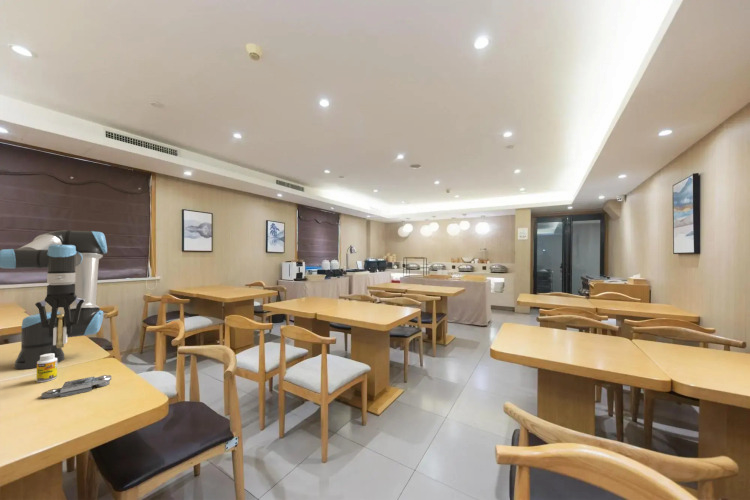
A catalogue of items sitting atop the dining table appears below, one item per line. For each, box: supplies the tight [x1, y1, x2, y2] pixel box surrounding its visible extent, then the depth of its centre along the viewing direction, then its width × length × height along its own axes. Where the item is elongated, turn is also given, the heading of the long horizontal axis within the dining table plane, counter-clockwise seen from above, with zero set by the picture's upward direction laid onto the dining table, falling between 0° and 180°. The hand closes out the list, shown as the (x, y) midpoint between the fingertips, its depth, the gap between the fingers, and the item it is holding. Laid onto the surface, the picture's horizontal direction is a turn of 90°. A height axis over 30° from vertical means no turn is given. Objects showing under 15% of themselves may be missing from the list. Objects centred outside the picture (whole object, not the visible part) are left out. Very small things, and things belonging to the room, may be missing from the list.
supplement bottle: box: [36, 353, 58, 383], centre depth 117 cm, size 6×6×10 cm
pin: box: [55, 312, 65, 348], centre depth 112 cm, size 3×3×13 cm
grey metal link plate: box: [40, 374, 112, 400], centre depth 109 cm, size 8×18×3 cm, turn 129°
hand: (60, 343), depth 112 cm, fingers closed on pin, 2 cm apart
